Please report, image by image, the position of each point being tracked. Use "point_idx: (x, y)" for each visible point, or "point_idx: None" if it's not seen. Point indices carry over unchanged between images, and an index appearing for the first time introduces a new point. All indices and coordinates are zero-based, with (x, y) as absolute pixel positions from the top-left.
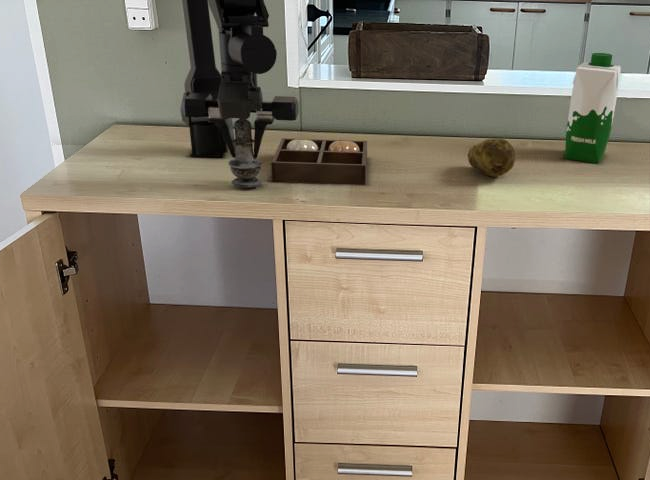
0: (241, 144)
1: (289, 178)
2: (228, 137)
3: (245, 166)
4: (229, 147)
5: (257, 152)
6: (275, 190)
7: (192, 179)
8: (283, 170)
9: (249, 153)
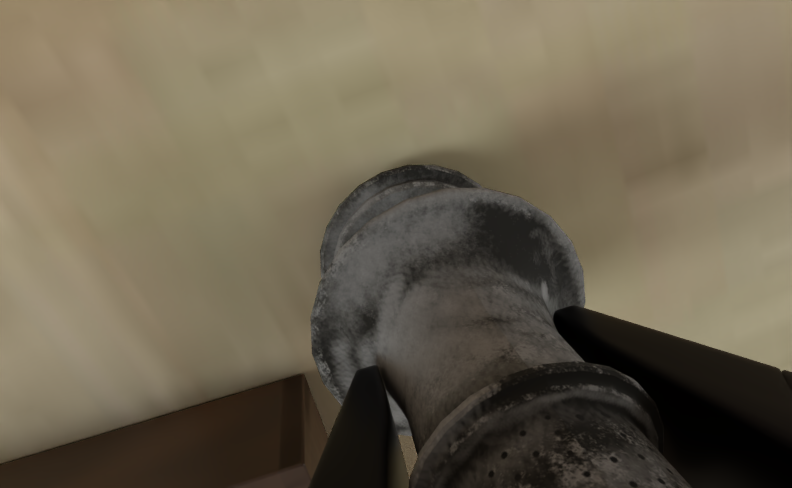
0: (534, 375)
1: (195, 419)
2: (766, 405)
3: (410, 224)
4: (655, 339)
5: (343, 404)
6: (206, 244)
7: (720, 247)
8: (224, 447)
9: (418, 356)
